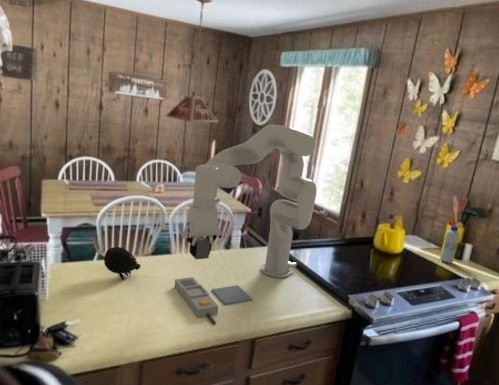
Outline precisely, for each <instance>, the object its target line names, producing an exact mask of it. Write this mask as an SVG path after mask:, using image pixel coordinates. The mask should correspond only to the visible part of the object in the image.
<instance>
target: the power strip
mask: <svg viewBox="0 0 499 385" xmlns="http://www.w3.org/2000/svg"><path fill="white" fill-rule="evenodd" d="M174 289H175V290H176V291H177V293H178V294H179V295H180V296H181V298H182V299H183V300H184V302H185V303H186V304H187V306H188V307H189V308H190V309H191V312H192V313H193V314H194V315H195V316H196V318H198V319H199V318H205V317H207V319H208V320H209V321H210V323H212V324H213V325H216V324H217V322H216V320H215V319H214V318H213V317H212V316H215V315H218V311H219V305H218V304H217V303H216V302H215V300H214V299H213V298H212V297H211V296H210V295H209V294H210V293H209V292H208V291H207V290H206V288H204V286H203V285H202V284H200V283H199V282H198V281H197V280H196V279H195V277H192V276H191V277H185V278H182V277H181V278H175V279H174Z"/></svg>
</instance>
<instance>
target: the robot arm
mask: <svg viewBox="0 0 499 385" xmlns="http://www.w3.org/2000/svg"><path fill="white" fill-rule="evenodd" d="M316 145H317V144H316V139H315V137H314V136H313V135H311V134H310V133H307V132H304V131H301V130H300V129H297V128H293V127H290V126H286V125H280V124H275V123H274V124H272V123H270V124H267V125H265V126H264V127H263V128H261V129H260V130H259V131H258V132H256V133H255V134H254V135H253V136H251V137H250V138H249V139H248V140H247V141H245V142H243V143H241V144H237V145H234V146H231V147H229V148H225V149H223V150H221V151H220V152H218V153H216V154H215V155H214V156H212V157H211V158H210V159H209V160H208V161H207V162H206V163H205V164H204V163H202V164H199V165H197V166H196V167H195V173H194V174H195V175H194V186H193V197H192V198H193V200H192V201H193V202H192V204H190V205H189V209H188V212H187V216H186V222H185V228H184V230H183V232H181V234H180V236H181V238H183V239H185V240H186V241H187V242H188V244H189V249H188V250H189V254H190V255H191V256H192V257H193V258H194V257H195V255H196V245H195V243H196V240H197V237H206V238H207V239H208V240H209V241H210V248H209V256H210V254H211V251H212V244H214V241H215V240H216V239H217V238H218V237H219V236H221V235H222V231H221V229H220V228H219V210H218V207H217V204H218V203H220V201H221V200H220V198H217V196H218V188H225V189H232V188H235V187H236V186H238V185H239V184H240V183H241V181H242V172H241V171H240V169H239V168H238V167H236V166H241V165H251V164H252V165H253V164H257V163H260V162H261V161H262V160H263V159H265V158H266V157H267V155H269V154H270V153H271V152H272V151H273V150H275V149H277V150H278V151H279V153H280V154H281V158H282V166H281V167H282V168H281V173H280V178H279V183H278V193H279V194H280V195H281V196H283V197H285V198H288V199H289V200H288V199H287V200H286V199H277V200H275V201H273V203H272V204H271V205H270V210H269V214H270V215H269V216H270V218H269V219H270V225H269V226H270V230H269V235H268V243H267V250H266V257H265V263H264V264H262V265H261V267H260V272H262V273H263V274H264V275H266V276H268V277H271V278H277V279H283V278H288V277H289V276H291V270H290V269H291V268H296V267H297V266H298V265H297V264H298V263H297V261H296V262H291V261H290V260H289V258H290V253H291V245H292V240H293V228H294V229H295V230H296V229H297V230H305V229H306V228H307V227H308V226H309V225H310V224H311V220H312V216H313V211H314V207H315V202H316V198H317V186H316V184H315V181H314V180H312V179H309V178H306V177H304V176H303V172H304V168H305V162H304V158H303V157H310V155H312V154H313V153H314V152H315V150H316ZM290 200H294V201H297V202H293V201H290ZM188 234H189V236H188Z"/></svg>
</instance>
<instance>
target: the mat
mask: <svg viewBox="0 0 499 385" xmlns="http://www.w3.org/2000/svg"><path fill="white" fill-rule="evenodd" d="M211 291H212V293H213V294H214V295H215V296H216V298H218V299H219V301H220V302H222V304H223V305H224V306H227V305H228V306H229V305H234V304H239V303H245V302H251V301H253V298H252V297H251V296H250V295H249V294H248V293H247V292H246V291H244V289H242V288H241V286H239V284H236V285H229V286H224V287H216V288H212V289H211Z"/></svg>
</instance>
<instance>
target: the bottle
mask: <svg viewBox="0 0 499 385" xmlns="http://www.w3.org/2000/svg"><path fill="white" fill-rule="evenodd" d="M458 230H459V227H458V226H456V225H451V226H450V229H449V230H448V229H447V230H446V233H445V235H444V242H443V246H442V250H441V252H440V257H439V260H440V261H441V262H442V261H443V262H444V263H445V262H446V263H448V264H449V263H450V264H452V263H453V261H454V258H455V253H456V250H457V245H458V243H459V240H460V232H458ZM446 263H445V264H446Z"/></svg>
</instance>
